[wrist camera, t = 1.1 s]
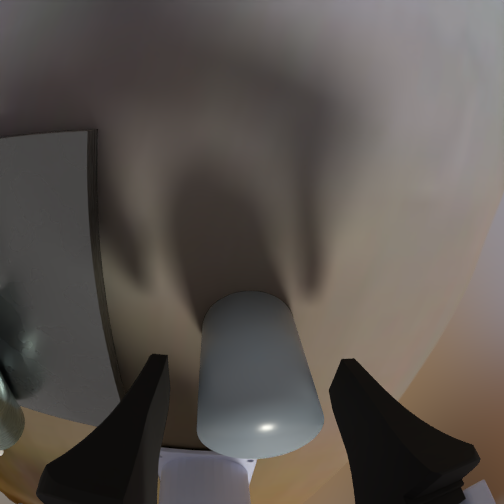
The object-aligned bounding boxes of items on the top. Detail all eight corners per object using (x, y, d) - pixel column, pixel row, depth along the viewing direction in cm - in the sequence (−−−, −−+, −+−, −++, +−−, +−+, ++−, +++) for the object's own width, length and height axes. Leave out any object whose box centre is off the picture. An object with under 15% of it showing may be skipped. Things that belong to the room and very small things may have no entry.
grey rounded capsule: (285, 362, 16) (307, 455, 11) (201, 359, 16) (197, 457, 10) (301, 293, 15) (339, 390, 9) (203, 287, 14) (196, 391, 9)
